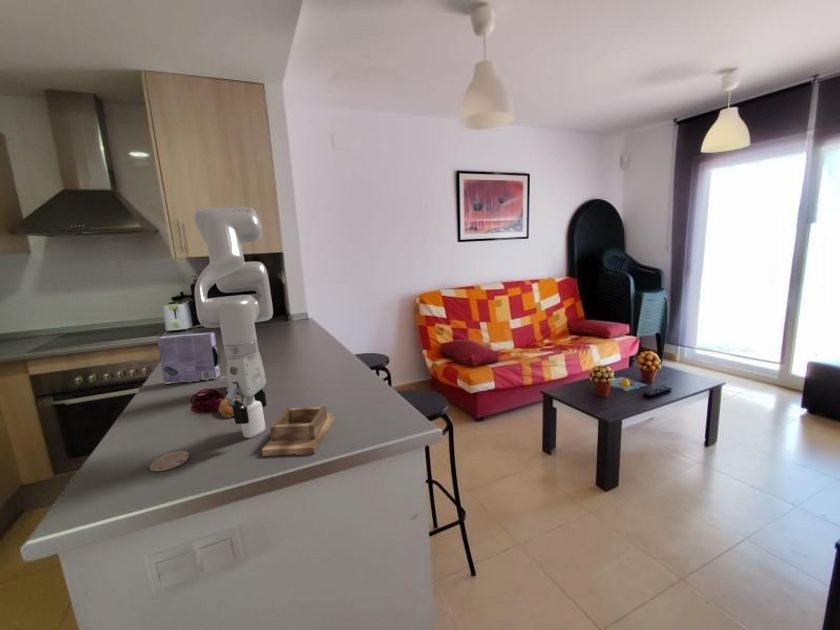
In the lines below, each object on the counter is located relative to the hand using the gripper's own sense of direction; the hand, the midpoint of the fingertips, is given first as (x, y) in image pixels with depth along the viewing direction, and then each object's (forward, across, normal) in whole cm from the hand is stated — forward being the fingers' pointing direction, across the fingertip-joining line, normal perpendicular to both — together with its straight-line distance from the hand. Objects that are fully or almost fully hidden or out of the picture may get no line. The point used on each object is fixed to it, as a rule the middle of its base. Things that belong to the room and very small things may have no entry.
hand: (251, 414), depth 97 cm
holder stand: (+5, -2, -13) cm, 14 cm away
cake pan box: (+5, +44, +44) cm, 63 cm away
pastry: (+6, +15, +14) cm, 21 cm away
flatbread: (+6, -12, +14) cm, 19 cm away
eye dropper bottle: (+6, 0, 0) cm, 6 cm away
